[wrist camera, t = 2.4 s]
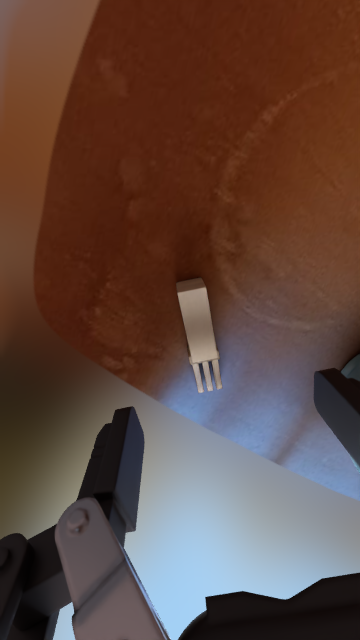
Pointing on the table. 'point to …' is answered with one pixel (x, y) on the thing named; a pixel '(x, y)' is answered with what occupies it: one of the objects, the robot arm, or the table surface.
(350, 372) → the flower pot
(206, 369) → the fork
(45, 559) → the robot arm
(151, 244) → the table surface
